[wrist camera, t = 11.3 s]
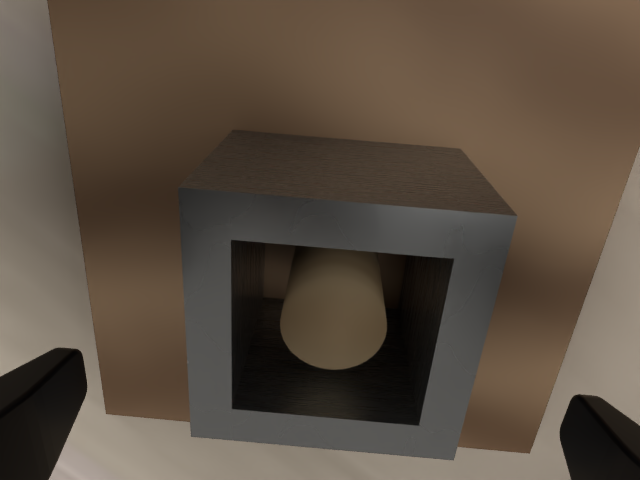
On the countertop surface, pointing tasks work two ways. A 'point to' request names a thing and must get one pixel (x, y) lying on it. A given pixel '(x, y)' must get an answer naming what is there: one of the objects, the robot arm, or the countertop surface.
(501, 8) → the post base
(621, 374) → the countertop surface
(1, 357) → the countertop surface
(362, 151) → the square tube
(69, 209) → the countertop surface
